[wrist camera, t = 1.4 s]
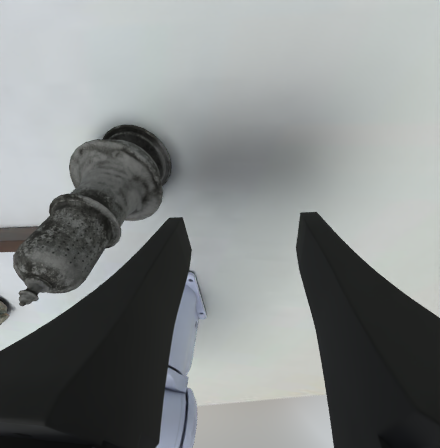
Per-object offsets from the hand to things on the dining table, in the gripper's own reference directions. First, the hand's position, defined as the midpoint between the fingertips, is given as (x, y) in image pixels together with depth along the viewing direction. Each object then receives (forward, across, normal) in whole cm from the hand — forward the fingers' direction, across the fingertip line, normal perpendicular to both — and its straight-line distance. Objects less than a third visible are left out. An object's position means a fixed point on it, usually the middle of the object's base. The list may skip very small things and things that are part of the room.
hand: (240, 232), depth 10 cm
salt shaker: (+9, +8, 0) cm, 12 cm away
